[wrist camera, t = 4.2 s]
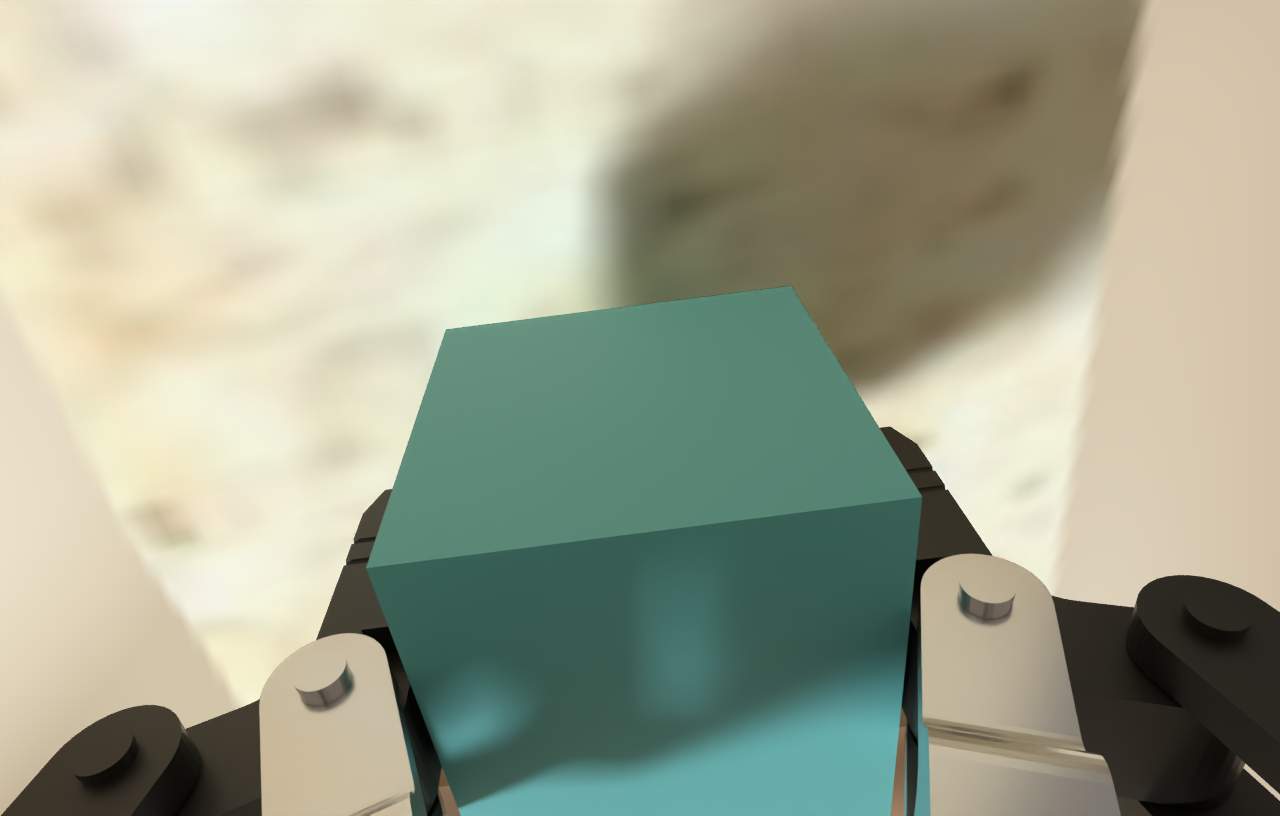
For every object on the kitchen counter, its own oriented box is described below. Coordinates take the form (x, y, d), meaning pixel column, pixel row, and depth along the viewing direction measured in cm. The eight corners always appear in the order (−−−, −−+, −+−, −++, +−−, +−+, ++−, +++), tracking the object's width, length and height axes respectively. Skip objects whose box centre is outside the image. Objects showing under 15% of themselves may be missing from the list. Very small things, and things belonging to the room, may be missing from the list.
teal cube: (446, 330, 11) (365, 568, 7) (790, 286, 11) (922, 496, 7) (511, 584, 14) (483, 874, 10) (793, 548, 14) (889, 821, 10)
